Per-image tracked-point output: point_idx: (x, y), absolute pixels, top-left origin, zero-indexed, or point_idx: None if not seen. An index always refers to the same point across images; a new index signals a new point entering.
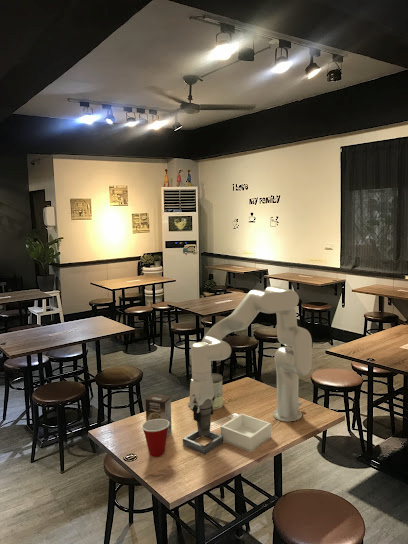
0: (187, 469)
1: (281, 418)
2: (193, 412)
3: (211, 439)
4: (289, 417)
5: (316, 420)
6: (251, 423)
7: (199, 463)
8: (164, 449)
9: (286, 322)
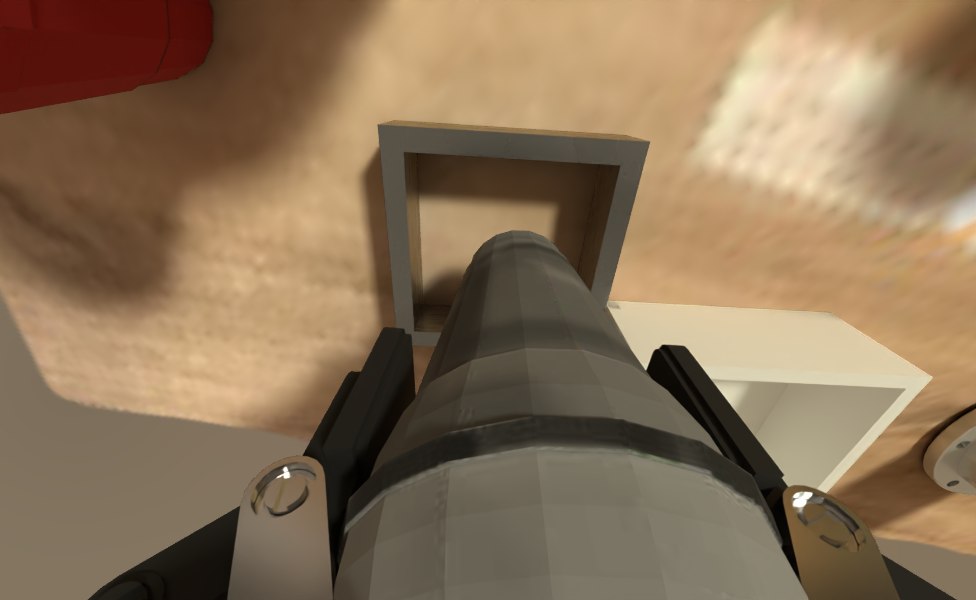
0: (243, 322)
1: (953, 447)
2: (341, 413)
3: (583, 250)
4: (963, 474)
5: (950, 519)
6: (815, 414)
7: (330, 337)
8: (165, 77)
9: None
